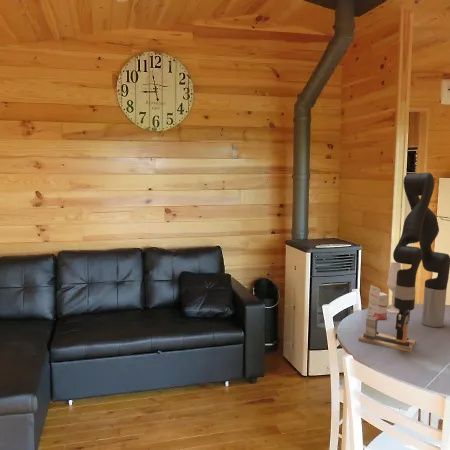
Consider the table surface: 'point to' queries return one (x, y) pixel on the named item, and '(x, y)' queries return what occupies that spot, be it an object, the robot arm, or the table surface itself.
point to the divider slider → (403, 334)
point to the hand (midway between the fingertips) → (401, 336)
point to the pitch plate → (383, 337)
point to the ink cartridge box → (377, 303)
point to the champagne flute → (393, 283)
